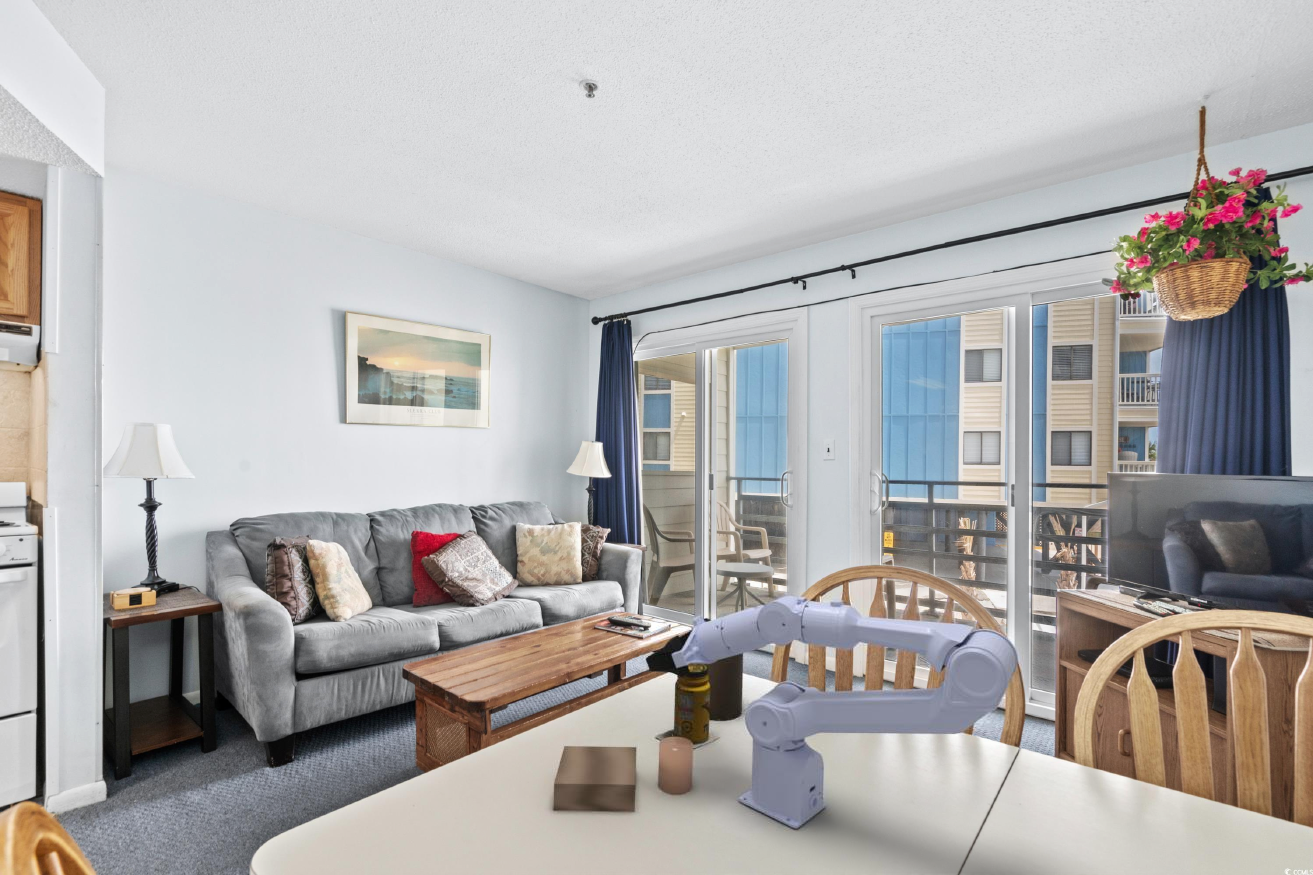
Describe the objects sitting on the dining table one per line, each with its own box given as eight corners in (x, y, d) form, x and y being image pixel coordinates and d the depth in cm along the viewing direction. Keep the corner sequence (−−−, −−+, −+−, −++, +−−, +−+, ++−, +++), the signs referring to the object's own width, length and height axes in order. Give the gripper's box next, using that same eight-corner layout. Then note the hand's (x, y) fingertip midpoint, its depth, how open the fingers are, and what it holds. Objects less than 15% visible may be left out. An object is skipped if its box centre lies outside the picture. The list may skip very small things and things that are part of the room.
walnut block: (635, 773, 98) (636, 746, 98) (634, 814, 87) (635, 784, 87) (563, 772, 98) (564, 745, 98) (553, 813, 87) (554, 783, 87)
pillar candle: (739, 723, 116) (741, 639, 117) (685, 716, 118) (688, 634, 119) (744, 703, 126) (746, 626, 126) (695, 697, 128) (697, 621, 128)
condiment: (719, 738, 110) (721, 667, 110) (685, 753, 104) (687, 679, 105) (688, 724, 116) (690, 657, 116) (654, 738, 110) (656, 667, 110)
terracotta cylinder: (699, 785, 94) (700, 744, 95) (676, 798, 91) (677, 755, 91) (673, 773, 98) (675, 733, 98) (651, 785, 94) (652, 743, 94)
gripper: (742, 596, 102) (676, 617, 109) (697, 623, 90) (626, 646, 97) (760, 639, 101) (692, 658, 108) (717, 672, 89) (643, 692, 96)
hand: (662, 655), depth 102 cm, fingers open, 7 cm apart
